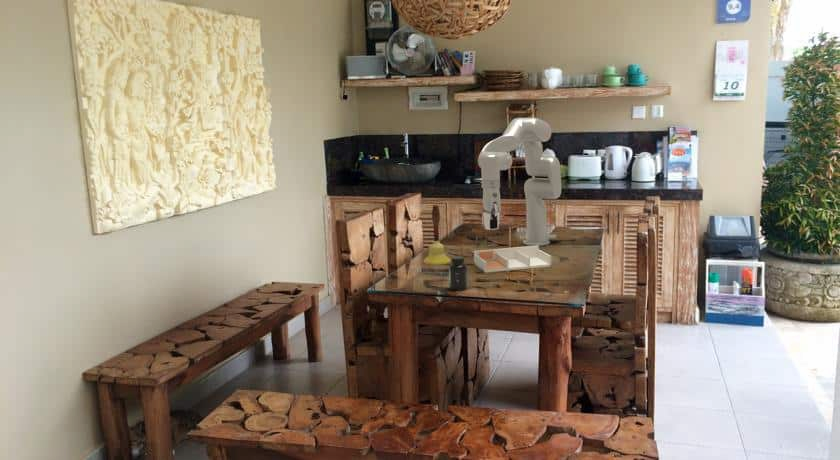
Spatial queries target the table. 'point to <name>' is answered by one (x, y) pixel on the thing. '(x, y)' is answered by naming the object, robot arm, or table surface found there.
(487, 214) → the white and grey cylinder
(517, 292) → the table surface
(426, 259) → the handbell
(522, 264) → the rack
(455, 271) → the supplement bottle
